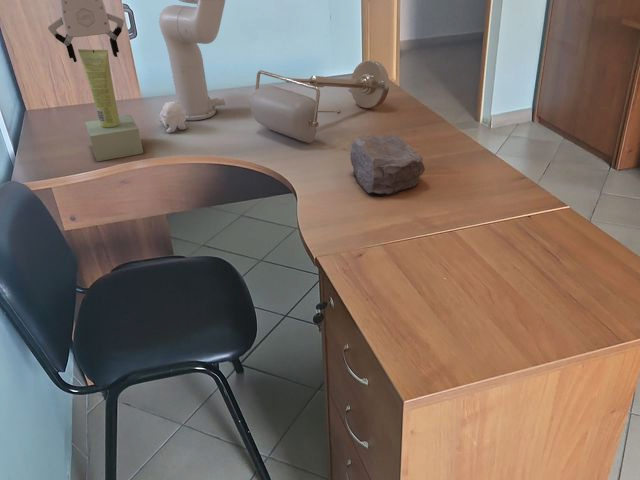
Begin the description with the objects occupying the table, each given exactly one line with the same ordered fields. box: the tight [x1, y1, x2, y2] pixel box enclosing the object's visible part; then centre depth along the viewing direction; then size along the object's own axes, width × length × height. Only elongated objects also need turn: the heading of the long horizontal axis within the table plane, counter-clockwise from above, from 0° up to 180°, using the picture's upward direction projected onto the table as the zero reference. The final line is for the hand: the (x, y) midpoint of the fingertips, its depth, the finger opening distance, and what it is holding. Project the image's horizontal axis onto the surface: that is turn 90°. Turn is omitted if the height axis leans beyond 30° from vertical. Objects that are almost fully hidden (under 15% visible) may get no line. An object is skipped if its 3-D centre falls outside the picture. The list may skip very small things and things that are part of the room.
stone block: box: [349, 134, 426, 197], centre depth 141 cm, size 17×12×15 cm
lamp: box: [249, 59, 390, 144], centre depth 174 cm, size 27×23×40 cm
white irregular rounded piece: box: [159, 100, 187, 134], centre depth 173 cm, size 6×8×12 cm
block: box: [85, 114, 144, 162], centre depth 160 cm, size 12×12×7 cm
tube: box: [77, 48, 120, 128], centre depth 152 cm, size 6×5×20 cm
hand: (95, 58), depth 148 cm, fingers open, 9 cm apart
